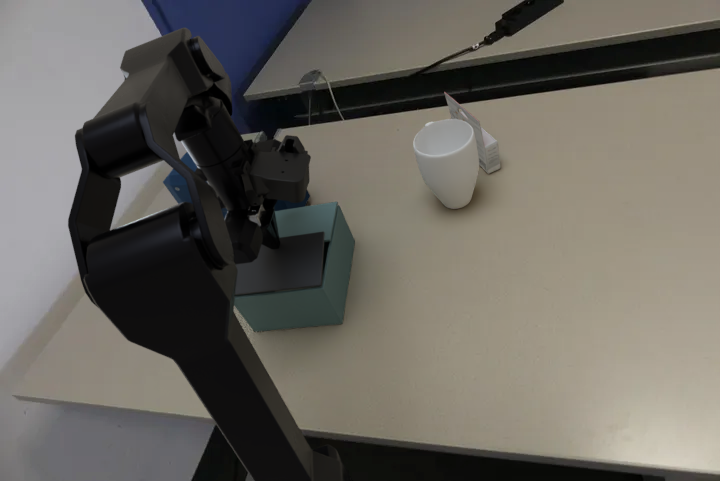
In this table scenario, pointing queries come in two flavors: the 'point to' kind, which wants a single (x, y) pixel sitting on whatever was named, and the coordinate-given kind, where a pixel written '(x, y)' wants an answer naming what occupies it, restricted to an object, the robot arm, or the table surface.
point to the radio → (180, 188)
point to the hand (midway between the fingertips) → (276, 246)
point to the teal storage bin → (310, 302)
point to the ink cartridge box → (477, 137)
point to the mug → (448, 160)
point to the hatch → (284, 266)
